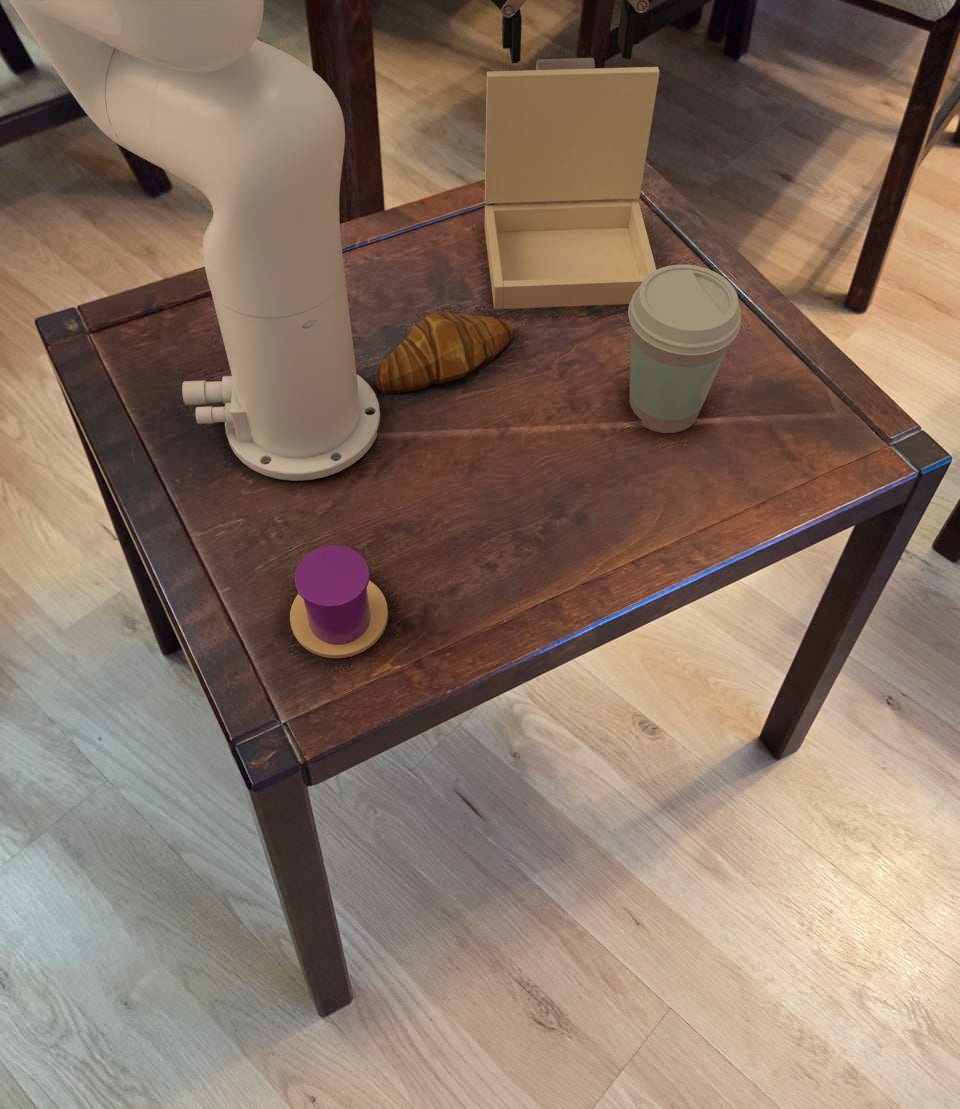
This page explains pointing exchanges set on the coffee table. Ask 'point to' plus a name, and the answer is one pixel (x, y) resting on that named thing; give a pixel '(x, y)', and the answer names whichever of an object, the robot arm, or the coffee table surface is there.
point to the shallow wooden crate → (566, 253)
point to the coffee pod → (335, 593)
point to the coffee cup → (678, 343)
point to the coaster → (349, 649)
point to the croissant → (442, 351)
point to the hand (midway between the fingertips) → (569, 52)
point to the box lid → (567, 131)
